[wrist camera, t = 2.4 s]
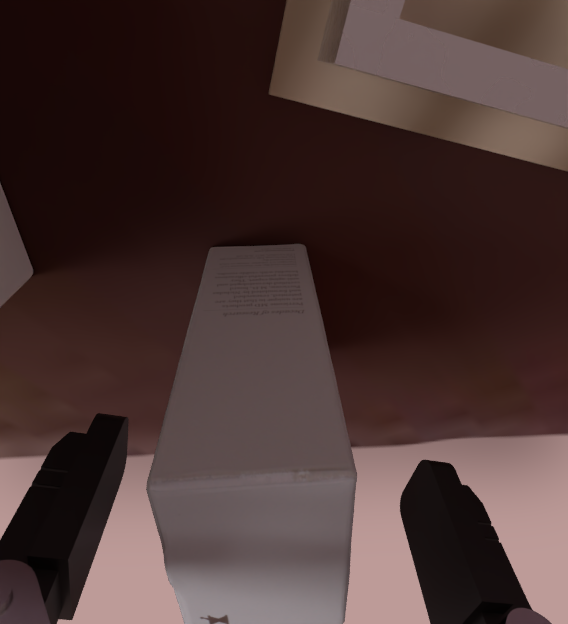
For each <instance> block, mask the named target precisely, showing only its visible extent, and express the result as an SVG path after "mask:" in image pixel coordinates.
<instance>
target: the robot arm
mask: <svg viewBox="0 0 568 624" xmlns="http://www.w3.org/2000/svg"><path fill="white" fill-rule="evenodd" d="M127 441H128V417H122V416H115V415H108V414H100V413H98V414H97V415H96V416H95V418H94V420H93V422H92V424H91V426H90V428H89V430H88V432H87V434H84V433H76V432H69V433H68V434H67V435H66V436H65V437H63V438H62V439H61V440H60V441H59V442H58V443H56V444H55V445H54V446H53V447H52V448H51V450H50V452H49V454H48V455H47V457H46V459H45V461H44V463H43V465H42V466H41V470H40V471H39V472H38V473H37V475H36V477H35V479H34V481H33V482H32V486H31V487H30V488H29V490H28V491H27V493H26V495H25V497H24V499H23V500H22V502H21V504H20V506H19V508H18V509H17V511H16V513H15V515H14V516H13V518H12V520H11V522H10V524H9V525H8V527H7V529H6V531H5V533H4V535H3V536H2V538H1V540H0V624H57V621H58V619H66V620H72V619H73V616H74V613H75V610H76V607H77V605H78V602H79V599H80V596H81V593H82V590H83V588H84V585H85V582H86V579H87V577H88V574H89V571H90V568H91V565H92V562H93V560H94V557H95V554H96V551H97V548H98V545H99V543H100V540H101V537H102V534H103V531H104V528H105V526H106V523H107V520H108V517H109V514H110V511H111V509H112V506H113V503H114V500H115V497H116V495H117V492H118V489H119V486H120V483H121V480H122V477H123V473H124V469H125V464H126V458H127ZM400 512H401V517H402V521H403V525H404V528H405V532H406V535H407V539H408V543H409V547H410V550H411V554H412V557H413V561H414V565H415V568H416V572H417V576H418V579H419V583H420V587H421V590H422V594H423V598H424V601H425V605H426V609H427V612H428V616H429V619H430V623H431V624H551V623H550V622H549V621H548V620H547V619H546V618H545V617H543V616H542V615H540V614H538V613H537V612H535V611H533V610H532V608H531V607H530V605H529V603H528V601H527V599H526V596H525V594H524V592H523V590H522V588H521V585H520V583H519V581H518V579H517V577H516V575H515V573H514V571H513V568H512V566H511V564H510V562H509V560H508V557H507V556H506V553H505V551H504V549H503V547H502V544H501V543H499V541H498V540H499V538H498V536H497V534H496V531H495V529H494V527H493V526H491V521H490V518H489V517H488V514H487V512H486V510H485V508H484V506H483V503H482V502H481V501H480V500H479V498H478V497H477V496H476V495H475V494H474V492H473V491H472V490H471V489H470V488H469V487H468V486H467V485H462V484H461V482H460V480H459V477H458V475H457V473H456V470H455V468H454V467H453V466H452V465H451V464H450V463H445V462H438V461H430V460H422V461H421V462H420V463H419V464H418V466H417V468H416V470H415V471H414V473H413V475H412V477H411V479H410V480H409V482H408V484H407V485H406V487H405V489H404V491H403V493H402V496H401V500H400Z"/></svg>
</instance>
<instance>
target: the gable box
mask: <svg viewBox="0 0 568 624" xmlns="http://www.w3.org/2000/svg"><path fill="white" fill-rule="evenodd" d="M32 275H33V268H32V266H31V263H30V260H29V258H28V255H27V252H26V250H25V247H24V244H23V242H22V239H21V236H20V234H19V231H18V228H17V226H16V223H15V221H14V218H13V215H12V213H11V210H10V207H9V205H8V202H7V199H6V197H5V194H4V191H3V189H2V186H1V183H0V307H1V306H2V305H3V304H4V303H5V302H6V301H7V300H8V299H9V298H10V297H11V296H12V295H14V294H15V293H16V292H17V291H18V290H19V289H20V288H21V287H22V286H23V285H24V284H25V283H26V282H27V281H28V280H29V279H30V277H31V276H32Z"/></svg>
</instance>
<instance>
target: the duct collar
mask: <svg viewBox="0 0 568 624" xmlns="http://www.w3.org/2000/svg"><path fill="white" fill-rule="evenodd" d="M404 2H405V0H332V1H331V5H330V9H329V14H328V18H327V22H326V26H325V31H324V35H323V39H322V43H321V47H320V52H319V56H318V61H321V62H325V63H329V64H332V65H336V66H340V67H343V68H347V69H350V70H354V71H358V72H361V73H365V74H369V75H372V76H376V77H380V78H383V79H387V80H390V81H394V82H398V83H401V84H405V85H409V86H412V87H416V88H420V89H423V90H427V91H431V92H434V93H438V94H441V95H445V96H449V97H452V98H456V99H460V100H463V101H467V102H471V103H474V104H478V105H481V106H485V107H489V108H492V109H496V110H500V111H503V112H507V113H511V114H514V115H518V116H522V117H525V118H529V119H532V120H536V121H540V122H543V123H547V124H551V125H554V126H558V127H562V128H565V129H568V69H566V68H562V67H559V66H556V65H552V64H549V63H546V62H542V61H539V60H536V59H532V58H529V57H525V56H522V55H519V54H515V53H512V52H509V51H505V50H502V49H499V48H495V47H492V46H489V45H485V44H482V43H479V42H475V41H472V40H469V39H465V38H462V37H459V36H455V35H452V34H449V33H445V32H442V31H438V30H435V29H432V28H428V27H425V26H422V25H418V24H415V23H412V22H408V21H405V20H402V19H399V18H400V15H401V12H402V8H403V5H404Z"/></svg>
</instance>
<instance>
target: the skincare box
mask: <svg viewBox="0 0 568 624" xmlns="http://www.w3.org/2000/svg"><path fill="white" fill-rule="evenodd" d="M356 481H357V472H356V468H355V464H354V459H353V454H352V450H351V446H350V441H349V436H348V432H347V428H346V423H345V419H344V414H343V410H342V405H341V401H340V397H339V393H338V388H337V383H336V378H335V374H334V369H333V365H332V361H331V356H330V352H329V347H328V343H327V338H326V333H325V329H324V325H323V320H322V316H321V312H320V307H319V303H318V298H317V294H316V290H315V285H314V281H313V276H312V272H311V268H310V264H309V259H308V255H307V251H306V247H305V245H302V244H288V245H265V246H233V247H212V248H210V250H209V253H208V257H207V260H206V264H205V268H204V272H203V275H202V280H201V283H200V287H199V290H198V294H197V298H196V302H195V305H194V309H193V313H192V316H191V320H190V323H189V327H188V331H187V335H186V338H185V342H184V346H183V350H182V354H181V357H180V361H179V364H178V368H177V371H176V375H175V379H174V383H173V387H172V390H171V394H170V398H169V402H168V406H167V409H166V413H165V417H164V421H163V425H162V429H161V432H160V436H159V440H158V444H157V447H156V451H155V455H154V459H153V463H152V467H151V470H150V474H149V477H148V481H147V489H146V490H147V494H148V497H149V501H150V504H151V508H152V511H153V515H154V518H155V522H156V525H157V529H158V532H159V536H160V539H161V543H162V547H163V553H164V563H165V568H166V572H167V576H168V580H169V582H170V584H171V585H172V587H173V588H174V591H175V594H176V598H177V601H178V603H179V607H180V610H181V613H182V616H183V620H184V624H343V623H344V621H345V611H346V602H347V593H348V584H349V574H350V553H351V537H352V523H353V513H354V500H355V489H356Z"/></svg>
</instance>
